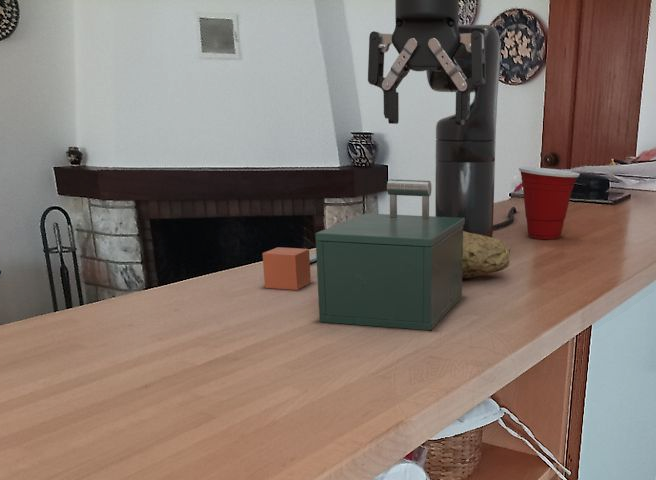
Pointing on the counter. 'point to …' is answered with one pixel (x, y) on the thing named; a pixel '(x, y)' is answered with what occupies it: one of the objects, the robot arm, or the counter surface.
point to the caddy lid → (396, 222)
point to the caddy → (389, 282)
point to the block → (286, 268)
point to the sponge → (483, 255)
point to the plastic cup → (546, 200)
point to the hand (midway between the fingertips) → (426, 124)
